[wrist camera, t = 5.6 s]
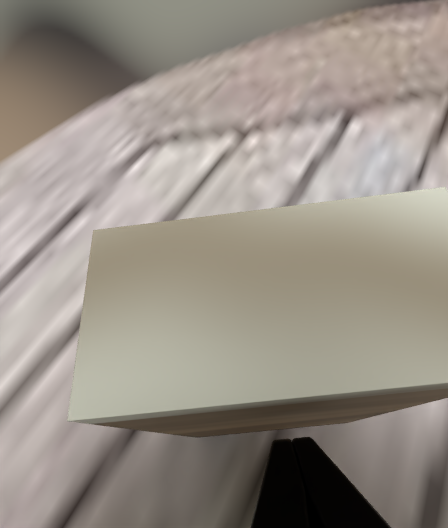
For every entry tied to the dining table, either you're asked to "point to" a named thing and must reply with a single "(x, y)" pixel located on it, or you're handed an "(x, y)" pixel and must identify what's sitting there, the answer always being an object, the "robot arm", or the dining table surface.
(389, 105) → the dining table surface
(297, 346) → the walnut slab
